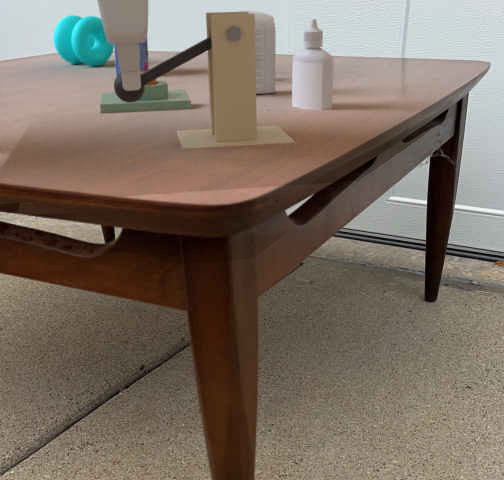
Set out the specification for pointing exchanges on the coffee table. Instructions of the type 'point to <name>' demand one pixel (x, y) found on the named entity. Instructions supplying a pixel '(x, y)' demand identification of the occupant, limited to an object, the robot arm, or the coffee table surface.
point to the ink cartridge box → (143, 57)
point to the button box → (148, 100)
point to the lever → (160, 70)
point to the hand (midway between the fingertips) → (131, 83)
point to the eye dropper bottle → (312, 73)
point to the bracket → (232, 87)
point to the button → (151, 81)
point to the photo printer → (264, 52)
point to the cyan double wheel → (82, 40)
